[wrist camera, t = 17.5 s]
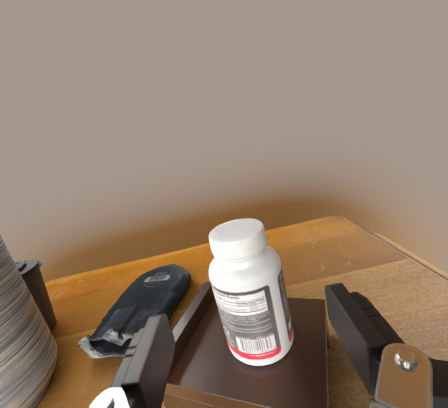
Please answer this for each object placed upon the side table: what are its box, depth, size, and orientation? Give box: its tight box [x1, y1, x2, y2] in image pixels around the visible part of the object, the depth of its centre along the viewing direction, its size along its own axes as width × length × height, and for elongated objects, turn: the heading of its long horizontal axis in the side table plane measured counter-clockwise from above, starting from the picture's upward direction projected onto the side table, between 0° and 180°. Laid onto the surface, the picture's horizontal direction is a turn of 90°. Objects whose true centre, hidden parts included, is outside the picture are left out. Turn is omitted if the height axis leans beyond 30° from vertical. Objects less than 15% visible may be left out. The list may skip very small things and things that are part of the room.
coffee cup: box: [15, 259, 56, 331], centre depth 33 cm, size 8×8×10 cm
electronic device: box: [78, 264, 191, 358], centre depth 33 cm, size 9×6×15 cm
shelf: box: [163, 282, 330, 408], centre depth 21 cm, size 12×10×6 cm
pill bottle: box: [209, 219, 294, 366], centre depth 19 cm, size 5×5×10 cm
